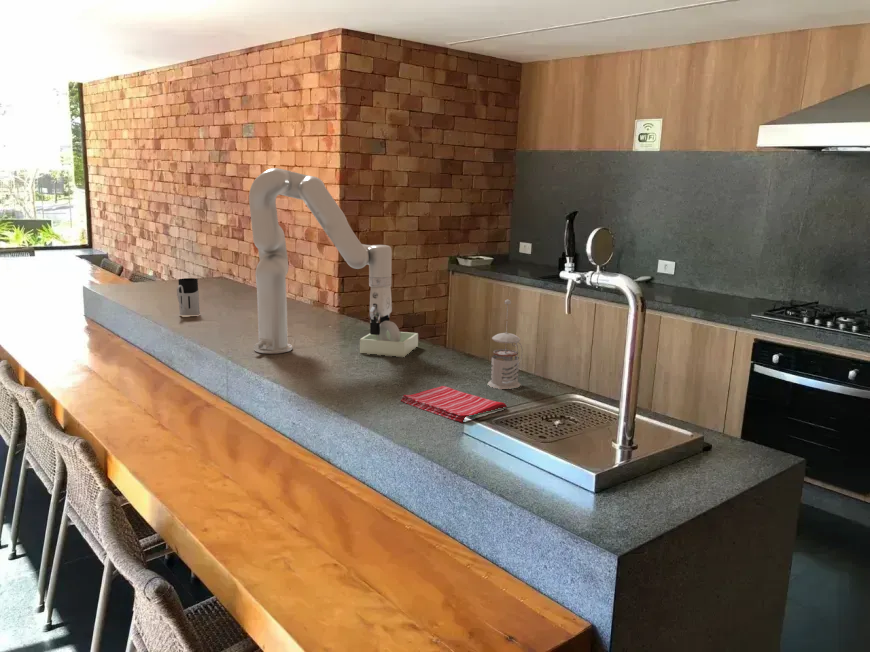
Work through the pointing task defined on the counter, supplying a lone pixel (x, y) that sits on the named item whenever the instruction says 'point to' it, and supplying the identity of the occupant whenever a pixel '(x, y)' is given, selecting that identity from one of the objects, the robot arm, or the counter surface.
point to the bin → (389, 345)
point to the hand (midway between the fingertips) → (379, 331)
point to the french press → (505, 361)
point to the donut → (392, 330)
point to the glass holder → (188, 296)
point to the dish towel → (451, 403)
